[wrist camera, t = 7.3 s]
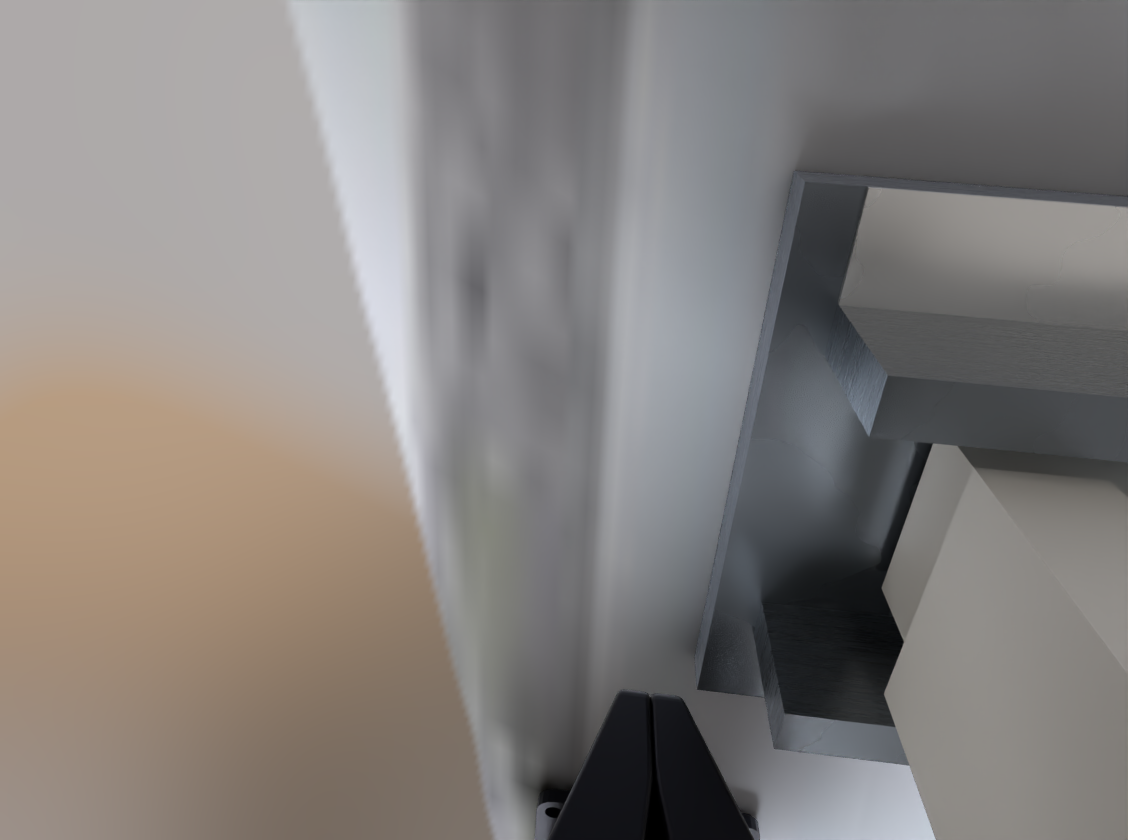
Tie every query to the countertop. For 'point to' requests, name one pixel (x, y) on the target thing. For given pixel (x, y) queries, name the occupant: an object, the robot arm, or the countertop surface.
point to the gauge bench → (897, 418)
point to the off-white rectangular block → (1014, 645)
